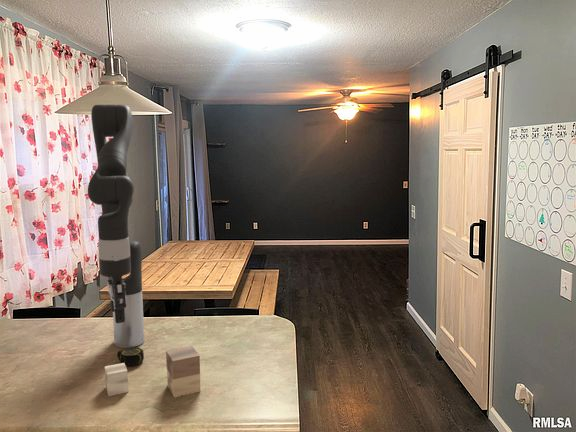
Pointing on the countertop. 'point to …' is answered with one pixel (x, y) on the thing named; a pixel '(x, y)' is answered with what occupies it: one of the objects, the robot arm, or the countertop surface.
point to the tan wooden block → (183, 384)
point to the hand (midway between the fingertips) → (117, 316)
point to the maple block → (116, 379)
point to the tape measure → (131, 356)
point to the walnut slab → (183, 362)
